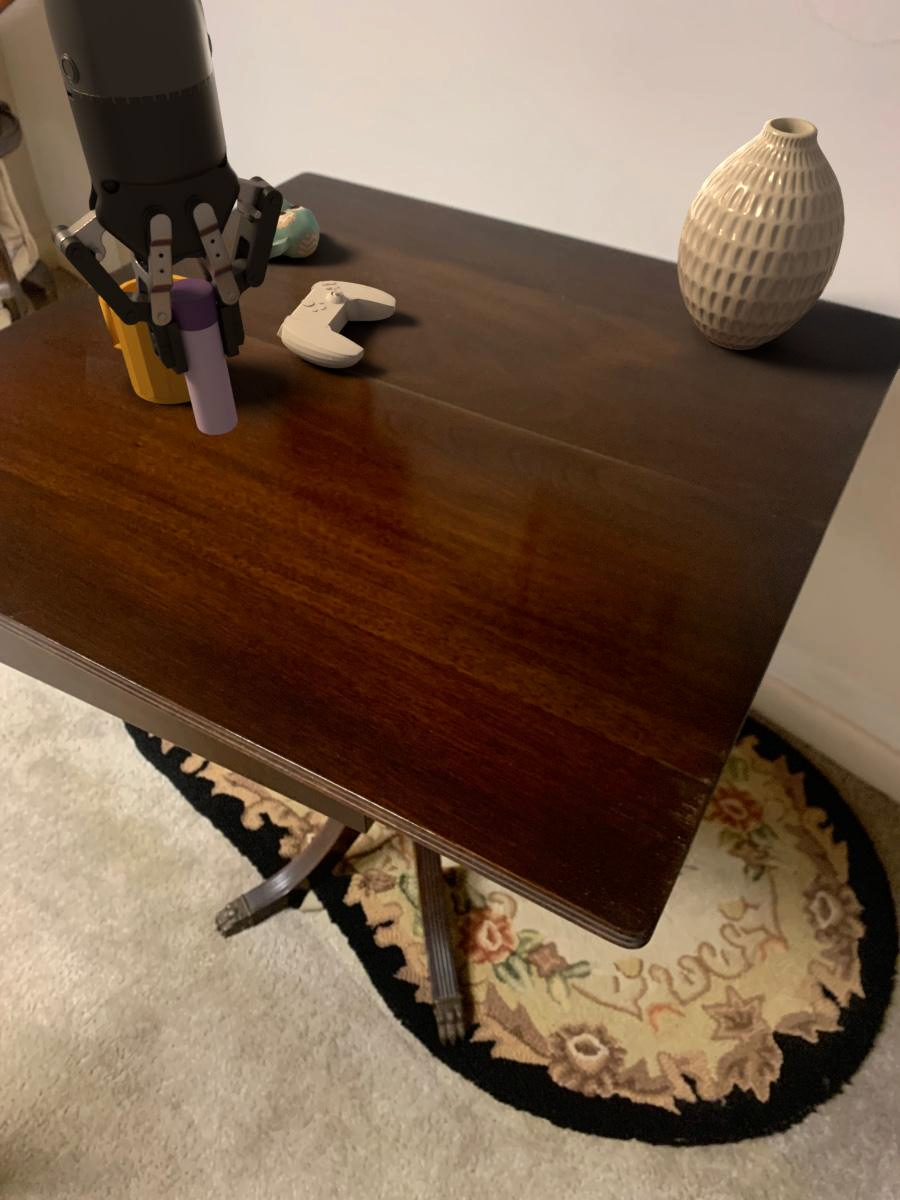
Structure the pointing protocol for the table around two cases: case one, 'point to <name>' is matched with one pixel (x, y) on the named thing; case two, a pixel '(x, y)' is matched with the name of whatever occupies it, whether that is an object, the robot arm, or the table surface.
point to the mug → (144, 357)
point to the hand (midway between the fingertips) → (202, 358)
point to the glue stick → (204, 355)
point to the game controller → (333, 322)
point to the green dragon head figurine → (295, 232)
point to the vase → (761, 237)
